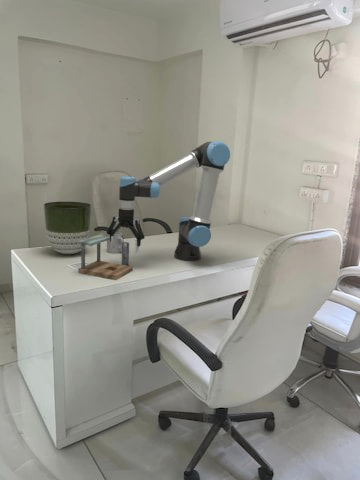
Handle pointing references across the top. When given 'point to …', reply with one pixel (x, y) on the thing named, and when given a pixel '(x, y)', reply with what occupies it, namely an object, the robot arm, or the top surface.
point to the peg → (125, 253)
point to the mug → (117, 243)
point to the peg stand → (98, 266)
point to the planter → (67, 225)
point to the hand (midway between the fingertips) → (124, 250)
